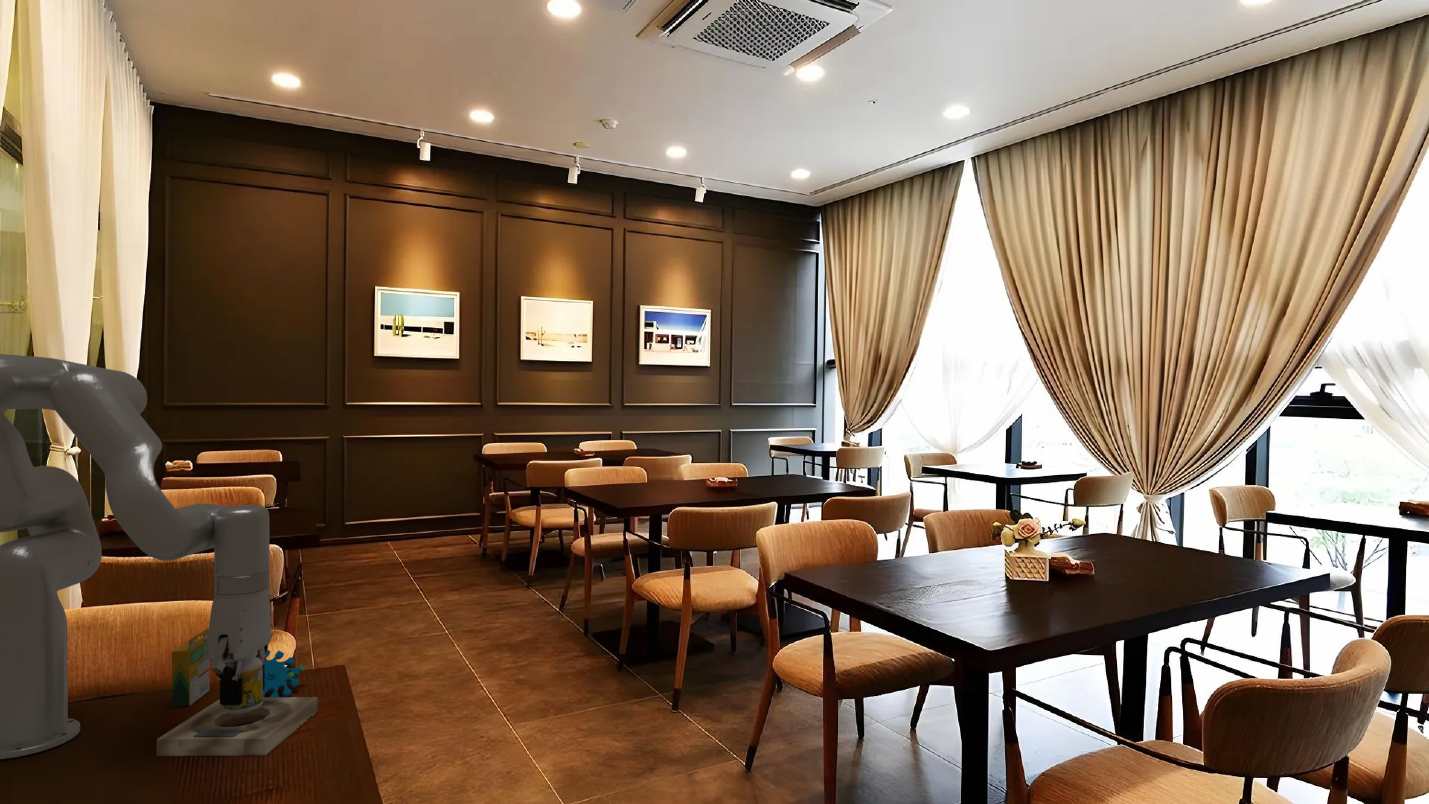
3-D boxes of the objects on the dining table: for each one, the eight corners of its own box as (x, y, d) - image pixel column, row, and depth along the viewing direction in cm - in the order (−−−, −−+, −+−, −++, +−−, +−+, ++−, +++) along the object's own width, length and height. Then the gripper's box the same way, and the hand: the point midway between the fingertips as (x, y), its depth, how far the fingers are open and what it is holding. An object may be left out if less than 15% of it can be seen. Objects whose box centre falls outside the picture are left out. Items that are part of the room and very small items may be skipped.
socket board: (156, 756, 115) (156, 738, 115) (222, 712, 131) (222, 696, 131) (265, 755, 116) (265, 737, 116) (317, 711, 132) (317, 695, 132)
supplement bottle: (266, 700, 127) (266, 641, 127) (257, 712, 122) (257, 651, 122) (229, 703, 125) (229, 644, 125) (218, 716, 120) (218, 654, 120)
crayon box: (192, 691, 140) (192, 628, 140) (210, 690, 141) (210, 627, 141) (170, 707, 133) (170, 640, 133) (189, 706, 134) (190, 639, 134)
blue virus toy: (244, 701, 132) (236, 650, 137) (232, 720, 134) (225, 669, 140) (312, 692, 140) (302, 644, 145) (299, 710, 142) (290, 662, 148)
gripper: (249, 571, 132) (249, 677, 132) (183, 597, 115) (183, 719, 115) (294, 571, 132) (294, 677, 132) (234, 597, 115) (234, 719, 115)
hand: (242, 695), depth 124 cm, fingers closed on supplement bottle, 5 cm apart
